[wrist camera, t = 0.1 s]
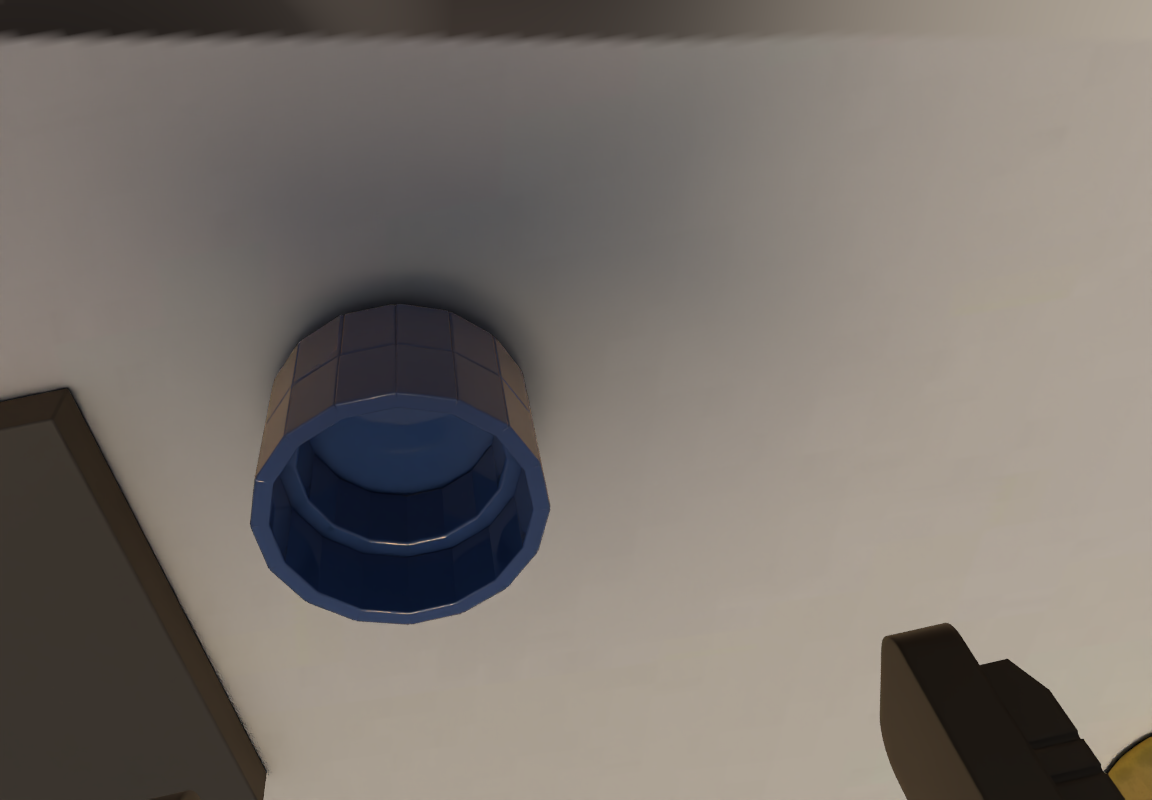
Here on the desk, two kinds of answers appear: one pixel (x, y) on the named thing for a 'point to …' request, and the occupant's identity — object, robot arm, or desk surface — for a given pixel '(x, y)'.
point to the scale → (97, 636)
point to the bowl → (399, 468)
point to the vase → (1134, 772)
